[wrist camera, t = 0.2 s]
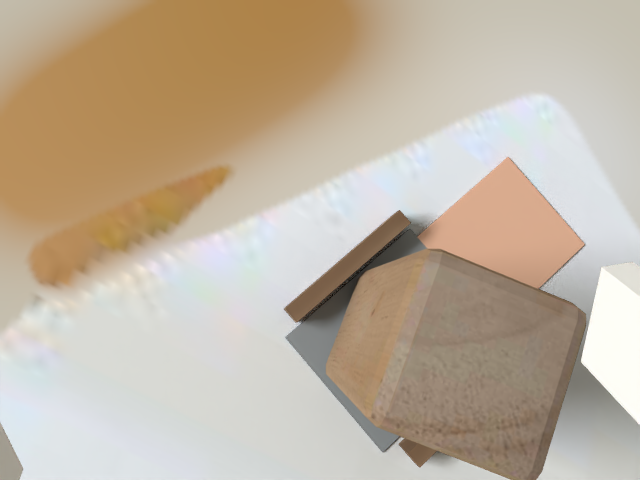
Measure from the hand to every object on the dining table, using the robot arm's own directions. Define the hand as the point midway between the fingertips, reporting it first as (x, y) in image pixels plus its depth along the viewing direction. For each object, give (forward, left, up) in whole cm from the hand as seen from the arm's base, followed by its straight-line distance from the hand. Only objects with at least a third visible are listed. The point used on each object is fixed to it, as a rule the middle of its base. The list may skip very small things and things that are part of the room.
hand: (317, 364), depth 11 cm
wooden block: (-8, -7, -35) cm, 37 cm away
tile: (-8, -21, -35) cm, 42 cm away
